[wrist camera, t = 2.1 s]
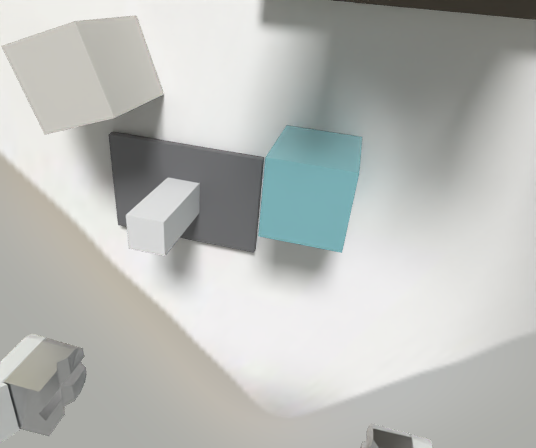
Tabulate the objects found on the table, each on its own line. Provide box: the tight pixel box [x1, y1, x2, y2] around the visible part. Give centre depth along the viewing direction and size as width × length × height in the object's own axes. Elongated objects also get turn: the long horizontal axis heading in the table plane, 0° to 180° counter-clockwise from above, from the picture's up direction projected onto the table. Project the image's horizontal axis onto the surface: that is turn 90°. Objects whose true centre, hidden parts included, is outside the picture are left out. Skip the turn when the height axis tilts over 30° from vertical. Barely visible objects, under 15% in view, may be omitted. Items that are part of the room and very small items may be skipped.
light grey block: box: [1, 16, 164, 135], centre depth 27 cm, size 5×5×7 cm
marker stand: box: [109, 132, 264, 256], centre depth 30 cm, size 12×8×7 cm, turn 84°
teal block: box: [258, 125, 362, 253], centre depth 27 cm, size 5×5×7 cm
